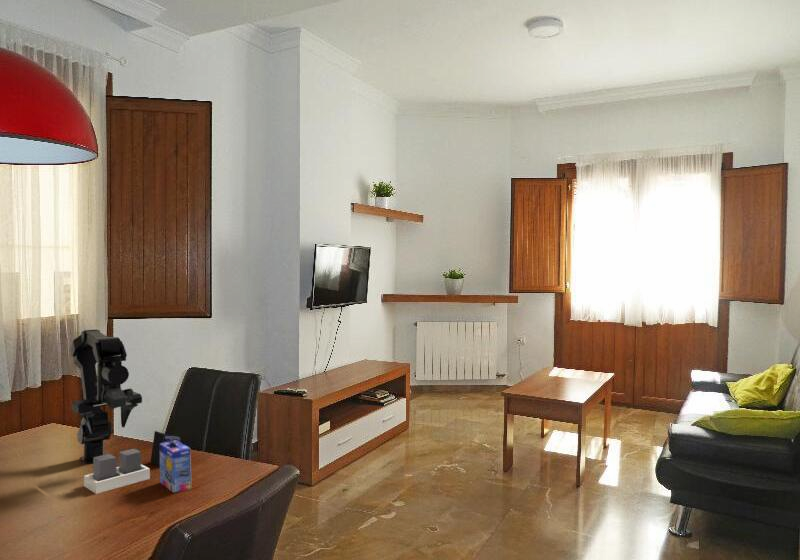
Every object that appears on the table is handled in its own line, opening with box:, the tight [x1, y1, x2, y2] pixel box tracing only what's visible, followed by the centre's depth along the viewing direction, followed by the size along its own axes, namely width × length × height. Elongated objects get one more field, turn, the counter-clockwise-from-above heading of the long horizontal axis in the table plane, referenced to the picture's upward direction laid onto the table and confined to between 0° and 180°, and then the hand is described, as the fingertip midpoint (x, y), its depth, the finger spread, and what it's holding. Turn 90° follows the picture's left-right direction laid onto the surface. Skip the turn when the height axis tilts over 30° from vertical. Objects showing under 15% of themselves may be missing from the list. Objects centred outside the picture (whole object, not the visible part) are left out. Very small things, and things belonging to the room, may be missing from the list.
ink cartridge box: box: [159, 437, 192, 493], centre depth 169 cm, size 10×6×14 cm, turn 45°
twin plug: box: [118, 448, 142, 474], centre depth 173 cm, size 4×4×8 cm
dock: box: [83, 463, 151, 495], centre depth 170 cm, size 8×15×4 cm, turn 140°
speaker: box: [150, 430, 181, 467], centre depth 187 cm, size 8×6×10 cm
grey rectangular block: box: [92, 453, 117, 481], centre depth 168 cm, size 4×4×8 cm
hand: (107, 430), depth 179 cm, fingers open, 9 cm apart
